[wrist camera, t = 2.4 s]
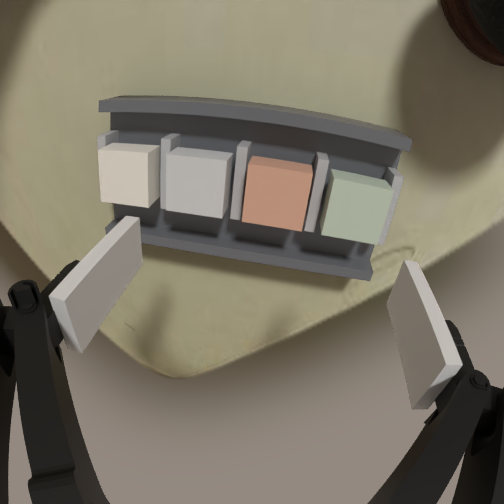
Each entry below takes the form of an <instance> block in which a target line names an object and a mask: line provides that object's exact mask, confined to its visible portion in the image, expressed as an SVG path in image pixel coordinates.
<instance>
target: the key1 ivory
mask: <svg viewBox="0 0 504 504" xmlns="http://www.w3.org/2000/svg"><path fill="white" fill-rule="evenodd" d="M98 161H99V178H100V192H101V202H108V203H116V204H124V205H131V206H138V207H146V208H149V207H150V206H151V205H152V204H153V203H154V202H155V201H156V200H157V199H158V198H159V197H160V146H159V145H145V144H128V143H111V144H109V145H107V146H105V147H103V148H101V149H99V150H98Z"/></svg>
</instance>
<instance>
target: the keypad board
mask: <svg viewBox="0 0 504 504" xmlns="http://www.w3.org/2000/svg"><path fill="white" fill-rule="evenodd" d="M99 112H111V130H110V131H108V132H106V133H103V134H101V135H98V136H97V139H98V150H99V149H101V148H103V147H105V146H107V145H109V144H111V143H128V144H145V145H159V146H160V197H159V198H158V199H157V200H156V201H155V202H154V203H153V204H152V205H151V206H150V207H149V208H146V207H138V206H131V205H124V204H116V203H114V214H115V219H114V220H113V221H112V222H111V223H110V224H109V225H108V226H107V227H105V229H106V235H107V234H108V233H109V232H110V231H111V230H112V229H113V228H114V227H115V226H116V225H117V224H118V223H119V222H120V221H121V220H122V219H123V218H124V217H125V216H132V217H139V218H140V232H141V243H144V244H150V245H156V246H162V247H167V248H173V249H179V250H185V251H191V252H196V253H202V254H208V255H214V256H220V257H226V258H232V259H238V260H244V261H250V262H256V263H262V264H268V265H274V266H280V267H286V268H292V269H298V270H304V271H310V272H316V273H322V274H328V275H335V276H341V277H347V278H353V279H360V280H366V281H370V279H371V277H372V274H373V270H372V266H371V263H370V257H371V254H372V251H373V248H374V245H375V244H369V243H364V242H358V241H353V240H347V239H342V238H336V237H330V236H325V235H321V228H320V218H321V213H322V209H323V204H324V200H325V195H326V190H327V186H328V181H329V176H330V171H331V169H335V170H340V171H345V172H350V173H355V174H360V175H364V176H369V177H373V178H378V179H382V180H386V181H387V182H388V184H389V185H390V186H391V188H392V189H393V191H394V192H393V196H392V199H391V203H390V206H389V209H388V213H387V216H386V219H385V223H384V226H383V229H382V232H381V235H380V238H379V241H378V244H381V245H384V242H385V239H386V236H387V233H388V229H389V226H390V223H391V220H392V217H393V214H394V210H395V207H396V204H397V200H398V197H399V193H400V190H401V186H402V183H403V179H404V177H403V176H402V175H401V174H400V173H399V172H398V170H397V166H398V162H399V158H400V154H401V150H404V151H408V152H410V150H411V145H412V141H413V140H412V139H411V138H409V137H408V136H406V135H404V134H403V133H401V132H399V131H398V130H394V129H390V128H386V127H382V126H378V125H374V124H370V123H366V122H362V121H358V120H353V119H349V118H344V117H339V116H334V115H329V114H324V113H319V112H314V111H308V110H302V109H296V108H290V107H283V106H276V105H269V104H262V103H253V102H245V101H235V100H225V99H213V98H198V97H179V96H118V97H114V98H109V99H105V100H100V101H99ZM177 147H183V148H193V149H203V150H212V151H221V152H229V153H233V161H232V172H231V182H230V193H229V205H228V208H227V210H226V212H225V214H224V216H223V218H222V219H221V218H215V217H208V216H201V215H195V214H188V213H181V212H174V211H167V210H166V154H168V153H169V152H171V151H172V150H174V149H175V148H177ZM252 156H259V157H266V158H272V159H279V160H285V161H291V162H297V163H303V164H309V165H312V171H313V177H312V182H311V187H310V193H309V198H308V203H307V208H306V213H305V218H304V223H303V228H302V231H296V230H290V229H284V228H278V227H272V226H265V225H259V224H253V223H247V222H242V215H243V206H244V197H245V188H246V179H247V170H248V163H249V162H250V160H251V158H252ZM98 164H99V161H98ZM99 180H100V178H99ZM100 194H101V192H100Z"/></svg>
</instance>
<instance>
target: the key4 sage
mask: <svg viewBox="0 0 504 504" xmlns="http://www.w3.org/2000/svg"><path fill="white" fill-rule="evenodd" d="M393 192H394V191H393V189H392V188H391V186H390V185H389V184H388V182H387V181H386V180H382V179H378V178H373V177H369V176H364V175H360V174H355V173H350V172H345V171H340V170H335V169H331V171H330V176H329V181H328V186H327V190H326V195H325V200H324V204H323V209H322V213H321V218H320V228H321V235H325V236H330V237H336V238H342V239H347V240H353V241H358V242H364V243H369V244H375V245H378V241H379V238H380V235H381V232H382V229H383V226H384V223H385V219H386V216H387V213H388V209H389V206H390V203H391V199H392V196H393Z"/></svg>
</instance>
